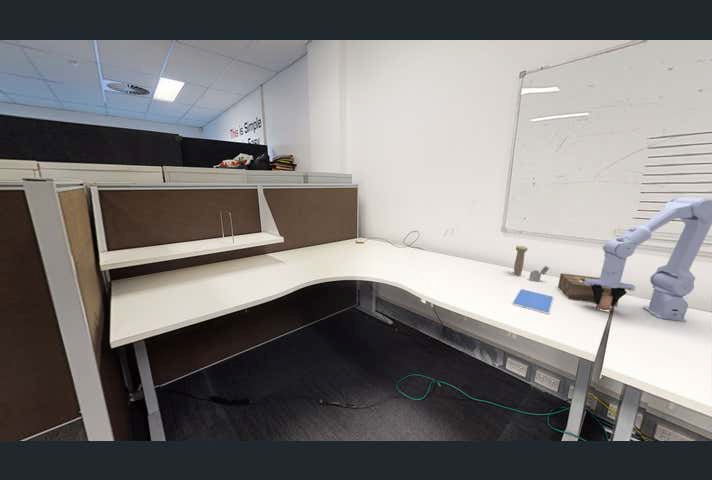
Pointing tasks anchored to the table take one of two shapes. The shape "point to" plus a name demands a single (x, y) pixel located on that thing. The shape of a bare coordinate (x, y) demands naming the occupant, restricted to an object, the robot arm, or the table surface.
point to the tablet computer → (533, 301)
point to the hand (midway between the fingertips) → (603, 304)
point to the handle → (519, 259)
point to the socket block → (578, 287)
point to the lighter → (538, 274)
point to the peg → (605, 302)
